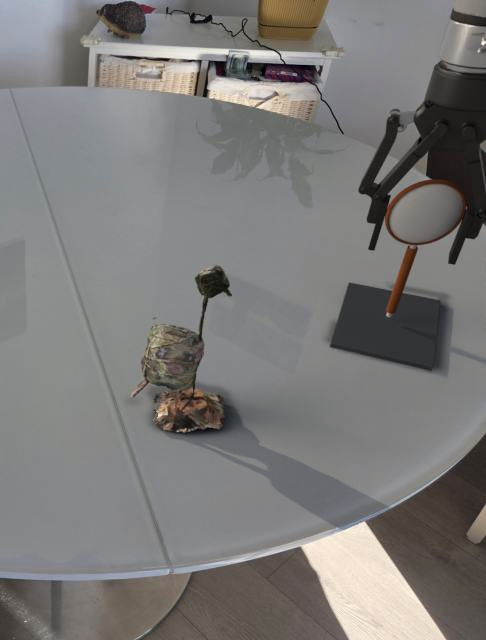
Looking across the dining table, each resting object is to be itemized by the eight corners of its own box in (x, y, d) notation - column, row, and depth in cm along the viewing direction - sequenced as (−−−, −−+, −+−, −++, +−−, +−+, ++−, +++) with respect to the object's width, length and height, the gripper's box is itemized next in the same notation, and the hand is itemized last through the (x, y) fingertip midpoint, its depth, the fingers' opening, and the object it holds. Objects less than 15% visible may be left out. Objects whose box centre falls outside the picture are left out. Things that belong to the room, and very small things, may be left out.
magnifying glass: (355, 319, 87) (398, 182, 75) (353, 312, 89) (394, 176, 76) (425, 322, 86) (480, 183, 73) (421, 315, 87) (474, 177, 74)
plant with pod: (142, 380, 83) (149, 246, 70) (232, 400, 79) (256, 261, 66) (124, 423, 77) (127, 284, 65) (219, 447, 73) (243, 304, 61)
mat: (439, 303, 91) (440, 300, 90) (431, 371, 80) (433, 367, 80) (348, 285, 96) (348, 282, 95) (329, 346, 85) (330, 343, 85)
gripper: (361, 66, 68) (317, 250, 83) (607, 82, 60) (510, 284, 74) (370, 47, 73) (327, 224, 88) (598, 59, 65) (509, 253, 79)
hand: (411, 251), depth 81 cm, fingers closed on magnifying glass, 8 cm apart
